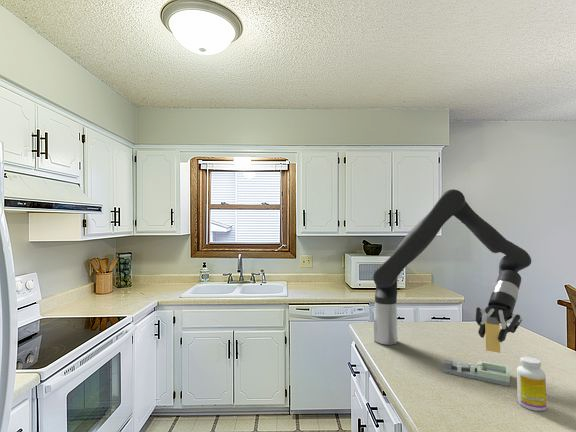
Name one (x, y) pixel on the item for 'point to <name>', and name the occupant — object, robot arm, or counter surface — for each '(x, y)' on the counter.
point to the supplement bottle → (531, 384)
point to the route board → (480, 371)
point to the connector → (492, 334)
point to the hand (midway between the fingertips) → (490, 338)
